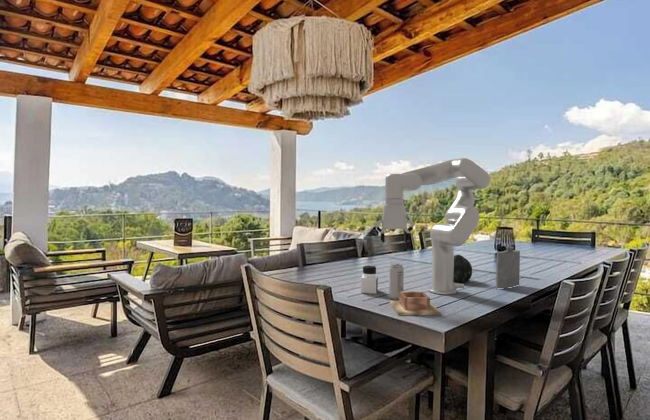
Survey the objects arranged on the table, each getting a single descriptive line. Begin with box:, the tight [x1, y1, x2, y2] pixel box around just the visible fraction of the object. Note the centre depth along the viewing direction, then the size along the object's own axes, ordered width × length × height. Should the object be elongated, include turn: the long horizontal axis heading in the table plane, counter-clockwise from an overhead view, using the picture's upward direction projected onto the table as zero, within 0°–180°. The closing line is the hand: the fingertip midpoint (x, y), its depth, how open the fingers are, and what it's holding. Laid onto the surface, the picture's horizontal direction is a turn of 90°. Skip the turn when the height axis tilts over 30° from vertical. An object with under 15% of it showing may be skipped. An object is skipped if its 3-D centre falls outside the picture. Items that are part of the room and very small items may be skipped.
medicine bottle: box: [360, 264, 379, 295], centre depth 175 cm, size 7×7×12 cm
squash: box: [453, 254, 473, 284], centre depth 197 cm, size 14×15×15 cm
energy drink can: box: [388, 262, 404, 301], centre depth 163 cm, size 6×6×15 cm
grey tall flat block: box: [495, 245, 521, 288], centre depth 184 cm, size 16×4×20 cm, turn 121°
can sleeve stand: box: [389, 291, 442, 316], centre depth 148 cm, size 16×16×6 cm
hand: (394, 242), depth 163 cm, fingers open, 9 cm apart
